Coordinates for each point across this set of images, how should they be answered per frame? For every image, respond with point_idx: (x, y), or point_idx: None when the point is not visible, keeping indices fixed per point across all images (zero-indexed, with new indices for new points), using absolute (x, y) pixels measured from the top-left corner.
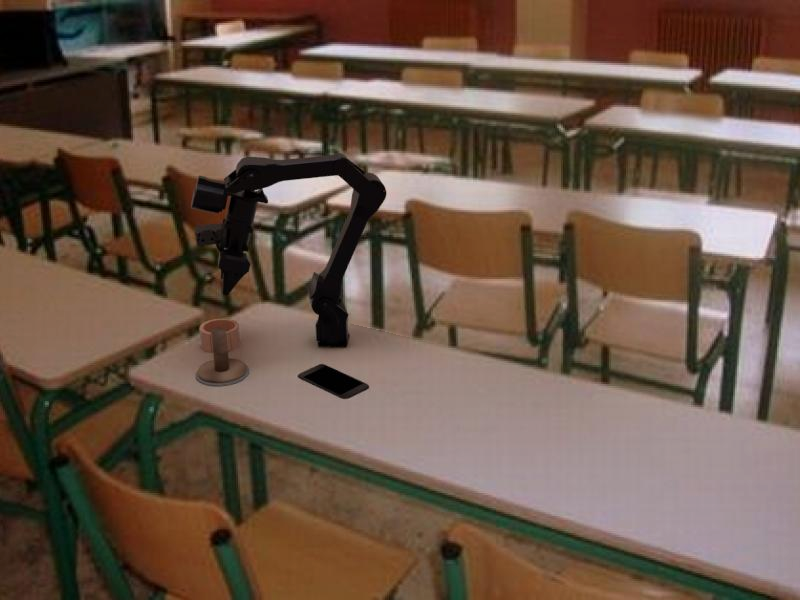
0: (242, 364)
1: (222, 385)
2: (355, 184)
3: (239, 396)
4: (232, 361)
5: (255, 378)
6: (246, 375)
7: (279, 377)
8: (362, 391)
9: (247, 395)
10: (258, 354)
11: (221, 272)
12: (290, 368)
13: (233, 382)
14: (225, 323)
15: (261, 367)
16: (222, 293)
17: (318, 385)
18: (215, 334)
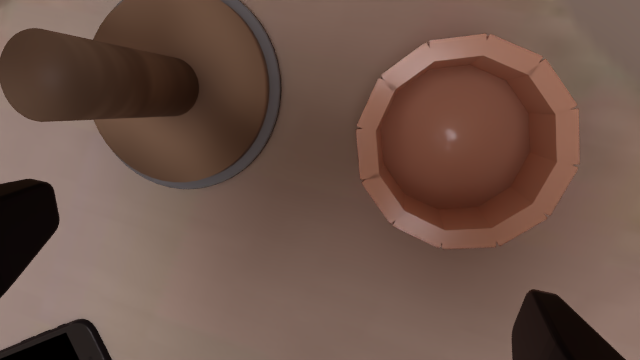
0: (180, 170)
1: None
2: None
3: (12, 108)
4: (219, 140)
5: (114, 191)
6: (126, 165)
7: (97, 266)
8: None
9: (11, 134)
10: (295, 255)
11: (551, 345)
12: (147, 320)
13: None
14: (531, 192)
15: (186, 234)
16: (26, 180)
17: (3, 352)
18: (7, 49)
